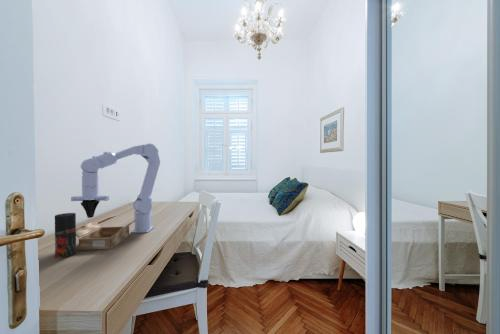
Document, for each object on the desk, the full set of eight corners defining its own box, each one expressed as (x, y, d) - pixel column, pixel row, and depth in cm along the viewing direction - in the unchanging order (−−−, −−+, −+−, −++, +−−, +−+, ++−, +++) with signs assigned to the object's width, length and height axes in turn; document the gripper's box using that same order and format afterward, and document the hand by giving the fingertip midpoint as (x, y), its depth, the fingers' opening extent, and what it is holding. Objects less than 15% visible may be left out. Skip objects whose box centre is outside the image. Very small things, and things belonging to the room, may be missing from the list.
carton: (102, 236, 101) (102, 226, 101) (129, 235, 103) (129, 226, 103) (78, 250, 85) (78, 239, 85) (110, 249, 86) (110, 238, 86)
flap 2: (128, 225, 102) (135, 219, 102) (129, 225, 102) (135, 220, 102) (111, 235, 87) (119, 229, 87) (112, 236, 87) (120, 229, 87)
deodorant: (80, 252, 83) (79, 213, 83) (62, 259, 77) (62, 217, 77) (68, 251, 85) (68, 212, 84) (50, 257, 79) (50, 216, 79)
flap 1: (101, 226, 101) (93, 221, 100) (101, 226, 101) (94, 221, 100) (79, 237, 86) (70, 232, 85) (79, 237, 86) (70, 231, 85)
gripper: (65, 187, 91) (65, 219, 91) (102, 187, 92) (103, 219, 93) (77, 185, 98) (77, 215, 98) (111, 185, 99) (111, 215, 100)
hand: (90, 217), depth 96 cm, fingers closed
